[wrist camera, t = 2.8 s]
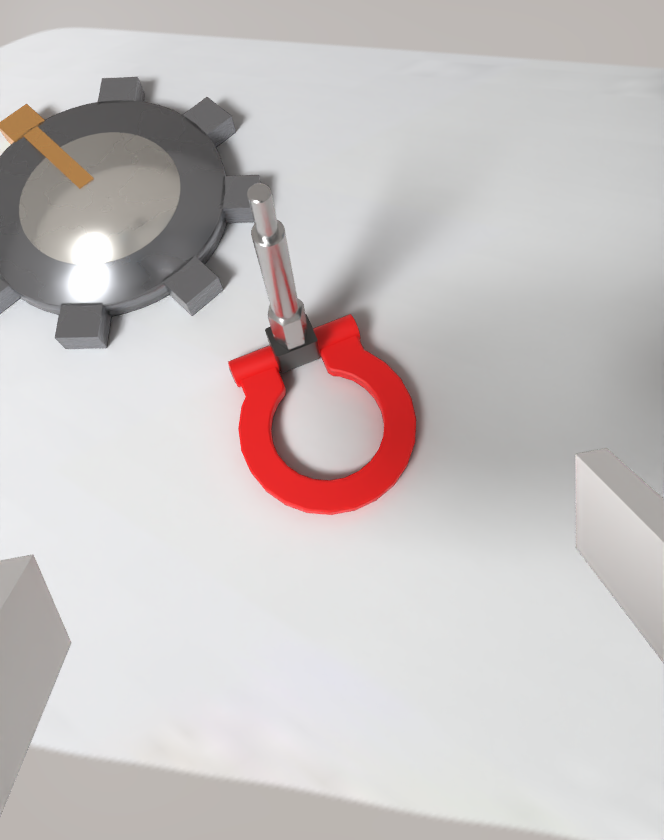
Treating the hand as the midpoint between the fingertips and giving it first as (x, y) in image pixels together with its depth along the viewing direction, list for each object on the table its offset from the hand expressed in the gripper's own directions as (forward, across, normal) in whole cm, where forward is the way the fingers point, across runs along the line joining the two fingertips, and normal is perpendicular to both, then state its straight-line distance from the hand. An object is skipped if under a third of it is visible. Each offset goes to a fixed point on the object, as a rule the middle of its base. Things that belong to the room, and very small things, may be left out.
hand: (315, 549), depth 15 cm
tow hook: (+16, +1, -4) cm, 16 cm away
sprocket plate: (+26, -9, +7) cm, 28 cm away
